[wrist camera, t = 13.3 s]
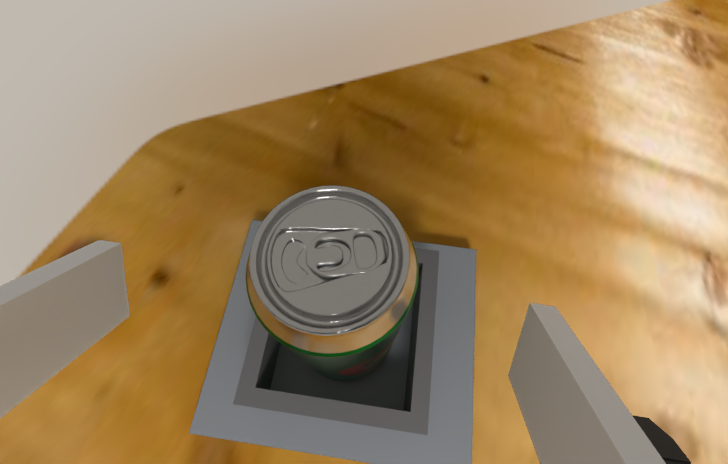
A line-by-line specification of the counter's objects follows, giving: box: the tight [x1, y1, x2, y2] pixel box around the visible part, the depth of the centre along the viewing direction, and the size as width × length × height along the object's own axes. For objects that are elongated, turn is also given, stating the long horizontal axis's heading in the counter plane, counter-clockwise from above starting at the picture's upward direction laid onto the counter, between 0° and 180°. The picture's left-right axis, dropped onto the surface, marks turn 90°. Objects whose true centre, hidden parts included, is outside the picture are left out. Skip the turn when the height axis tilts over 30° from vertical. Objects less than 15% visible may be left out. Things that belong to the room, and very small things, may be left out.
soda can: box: [246, 185, 419, 382], centre depth 16 cm, size 5×5×12 cm
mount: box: [189, 220, 476, 464], centre depth 20 cm, size 14×12×4 cm
